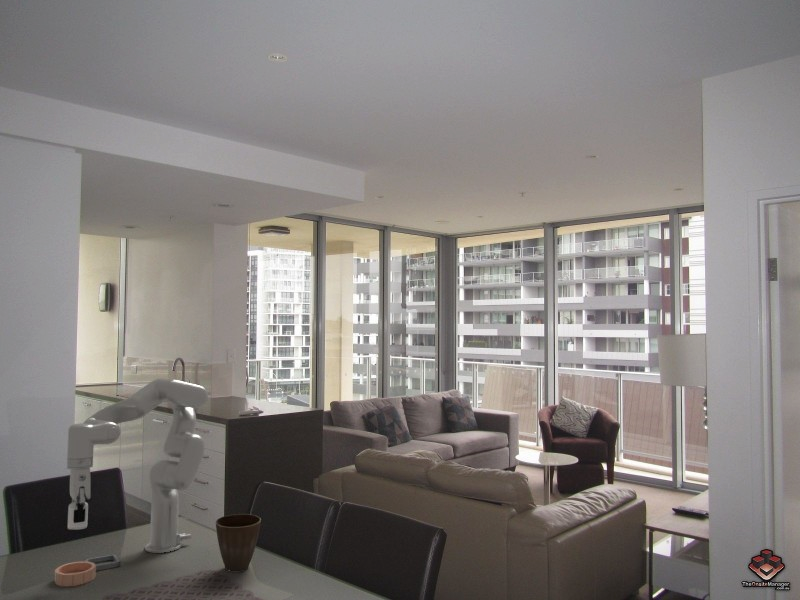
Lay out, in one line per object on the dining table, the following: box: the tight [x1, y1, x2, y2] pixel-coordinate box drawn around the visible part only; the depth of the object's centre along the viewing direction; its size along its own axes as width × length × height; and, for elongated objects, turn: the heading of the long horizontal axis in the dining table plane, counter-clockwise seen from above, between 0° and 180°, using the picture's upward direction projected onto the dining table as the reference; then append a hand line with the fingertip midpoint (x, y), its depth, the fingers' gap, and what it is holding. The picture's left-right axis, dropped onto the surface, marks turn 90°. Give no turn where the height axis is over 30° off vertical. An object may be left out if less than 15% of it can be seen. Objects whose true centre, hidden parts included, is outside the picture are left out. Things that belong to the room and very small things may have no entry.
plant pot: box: [215, 513, 262, 572], centre depth 215 cm, size 15×15×16 cm
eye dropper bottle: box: [67, 498, 89, 530], centre depth 204 cm, size 4×6×12 cm
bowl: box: [54, 560, 97, 587], centre depth 203 cm, size 11×11×4 cm
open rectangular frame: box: [83, 553, 121, 572], centre depth 215 cm, size 10×9×2 cm
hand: (77, 519), depth 204 cm, fingers closed on eye dropper bottle, 4 cm apart
